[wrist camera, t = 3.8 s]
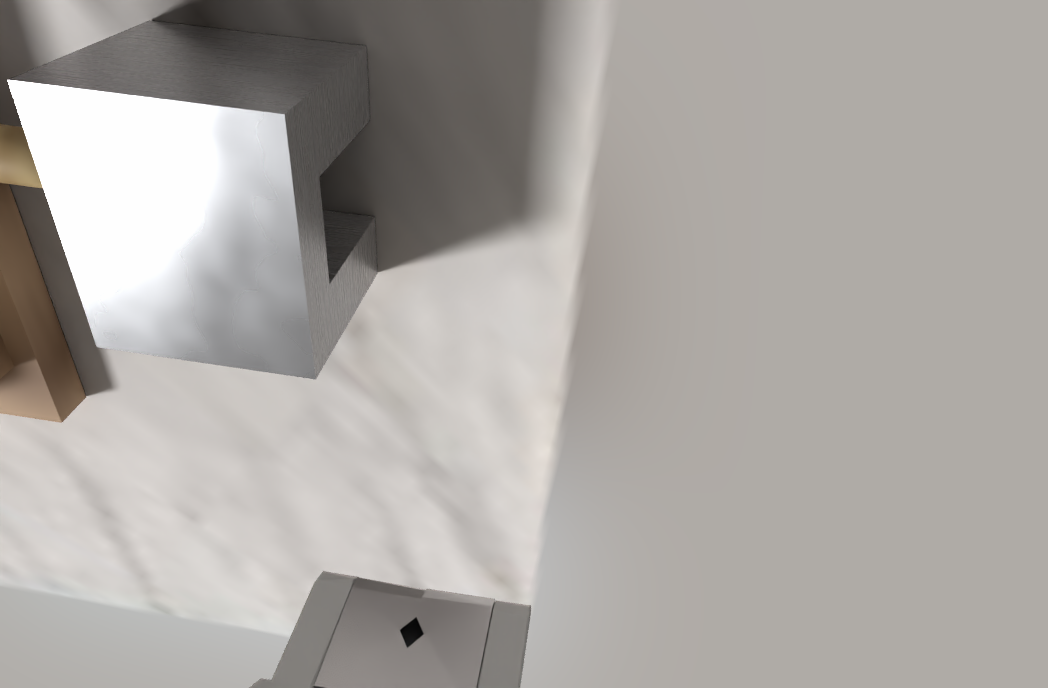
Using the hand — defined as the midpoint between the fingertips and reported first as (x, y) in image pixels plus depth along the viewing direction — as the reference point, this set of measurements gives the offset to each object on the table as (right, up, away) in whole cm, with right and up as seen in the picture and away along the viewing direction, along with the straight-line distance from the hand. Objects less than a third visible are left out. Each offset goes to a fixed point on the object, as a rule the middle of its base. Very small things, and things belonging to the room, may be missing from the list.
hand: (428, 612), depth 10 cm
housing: (-6, +9, +11) cm, 16 cm away
